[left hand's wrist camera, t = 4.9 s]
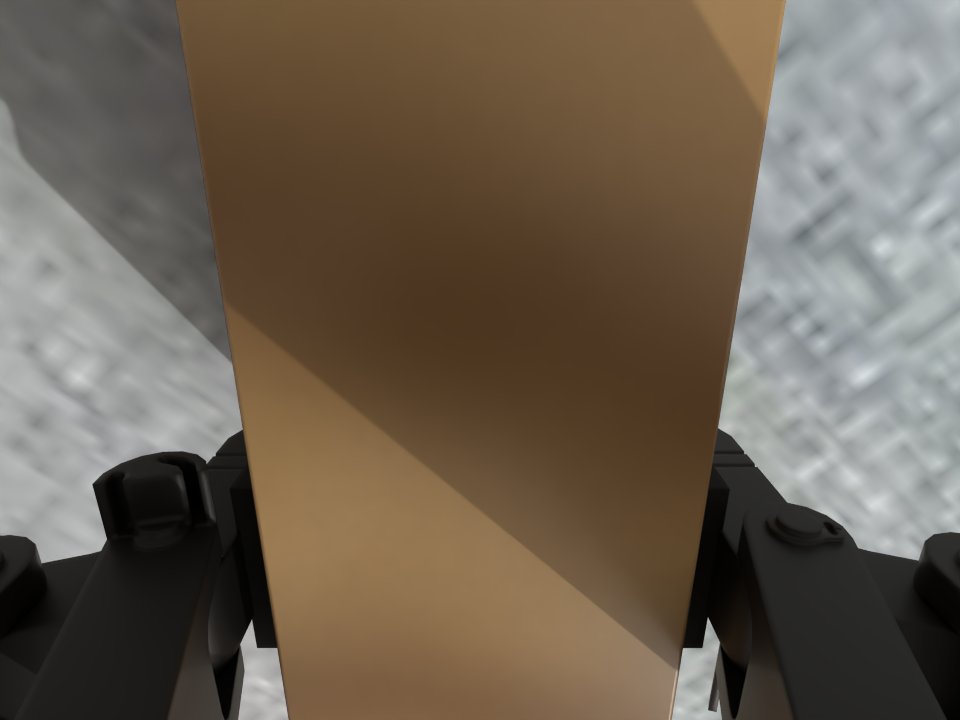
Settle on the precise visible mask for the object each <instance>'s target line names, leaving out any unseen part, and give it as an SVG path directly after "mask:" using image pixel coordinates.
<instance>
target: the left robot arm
mask: <svg viewBox="0 0 960 720" xmlns="http://www.w3.org/2000/svg"><path fill="white" fill-rule="evenodd" d="M92 485H93V488H94V492H95V496H96V499H97V503H98V507H99V511H100V514H101V518H102V522H103V525H104V529H105V533H106V537H107V541H106V543H105V545H104V546H103V548H102V550H101V551H100V552H96V553H92V554H87V555H82V556H77V557H72V558H67V559H62V560H57V561H52V562H47V563H41V560H40V557H39V554H38V551H37V548H36V544H35V543H33V542H32V541H31V540H29V539H28V538H27V537H20V536H13V535H6V536H0V720H238V716H239V708H240V701H241V693H242V686H243V678H244V664H243V657H242V651H241V646H240V643H241V641H242V639H243V637H244V635H245V633H246V631H247V628H248V626H249V624H250V622H251V620H252V621H253V627H254V632H255V638H256V644H257V648H277V642H276V636H275V629H274V623H273V617H272V610H271V604H270V598H269V591H268V585H267V579H266V572H265V566H264V560H263V553H262V547H261V541H260V534H259V528H258V522H257V515H256V509H255V503H254V496H253V490H252V484H251V477H250V471H249V465H248V458H247V452H246V446H245V439H244V433H243V430H241V431H240V432H238V433H236V434H235V435H233V436H231V437H230V438H228V439H227V441H226V442H225V443H224V444H223V445H222V447H221V448H220V449H219V450H218V451H217V453H216V456H213V457H212V459H211V460H210V461H209V462H208V463H207V464H206V461H205V460H204V459H203V458H201V457H200V456H199V455H197V454H192V453H187V452H183V451H180V452H160V453H155V454H150V455H145V456H141V457H138V458H135V459H132V460H129V461H126V462H124V463H121V464H119V465H117V466H116V467H114V468H112V469H110V470H108V471H107V472H105V473H103V474H102V475H101V476H100V477H99V478H98V479H97V480H96V481H95V482H94V483H93V484H92ZM707 618H709V620H710V622H711V624H712V626H713V628H714V631H715V633H716V635H717V637H718V639H719V641H720V646H719V651H718V657H717V662H716V667H715V673H714V678H713V683H712V689H711V694H710V700H709V708H708V710H710V711H714V712H717V706H718V701H719V699H720V707H721V714H722V720H960V533H953V532H948V533H941V534H934V535H933V536H931V537H930V538H929V539H927V540H926V541H925V543H924V546H923V549H922V552H921V555H920V558H919V561H917V560H912V559H907V558H902V557H897V556H891V555H886V554H881V553H876V552H871V551H867V550H863V549H859V548H858V547H857V545H856V543H855V542H854V540H853V538H852V537H851V536H850V534H849V533H848V532H847V531H846V530H845V528H844V527H843V526H841V525H840V524H838V523H837V522H835V521H834V520H833V519H831V518H830V517H828V516H827V515H824V514H822V513H819V512H817V511H815V510H812V509H810V508H807V507H804V506H799V505H795V504H791V503H787V502H786V501H785V499H784V498H783V497H782V496H781V495H780V493H779V492H778V491H777V490H776V489H775V488H774V486H773V485H772V484H771V483H770V482H769V480H768V479H767V478H766V477H765V476H764V474H763V473H762V472H761V471H760V470H759V469H758V467H755V464H754V463H753V461H752V460H751V459H750V458H749V457H748V455H747V454H744V451H743V450H742V448H741V447H740V446H739V445H738V444H737V442H736V441H735V440H734V439H733V438H732V436H730V435H728V434H727V433H725V432H723V431H722V430H720V429H718V430H717V437H716V443H715V449H714V456H713V462H712V468H711V474H710V481H709V487H708V493H707V500H706V506H705V512H704V518H703V525H702V531H701V537H700V544H699V550H698V556H697V562H696V569H695V575H694V581H693V588H692V594H691V600H690V606H689V613H688V619H687V625H686V632H685V638H684V644H683V648H702V647H703V641H704V636H705V630H706V624H707Z"/></svg>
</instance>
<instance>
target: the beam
mask: <svg viewBox="0 0 960 720" xmlns="http://www.w3.org/2000/svg"><path fill="white" fill-rule="evenodd" d="M175 2H176V8H177V15H178V21H179V27H180V34H181V40H182V46H183V53H184V59H185V65H186V72H187V78H188V85H189V91H190V97H191V104H192V110H193V116H194V123H195V129H196V135H197V142H198V148H199V154H200V161H201V167H202V173H203V180H204V186H205V192H206V199H207V205H208V211H209V218H210V224H211V230H212V237H213V243H214V249H215V256H216V262H217V268H218V275H219V281H220V287H221V294H222V300H223V306H224V313H225V319H226V325H227V332H228V338H229V344H230V351H231V357H232V363H233V370H234V376H235V382H236V389H237V395H238V401H239V408H240V414H241V420H242V427H243V433H244V439H245V446H246V452H247V458H248V465H249V471H250V477H251V484H252V490H253V496H254V503H255V509H256V515H257V522H258V528H259V534H260V541H261V547H262V553H263V560H264V566H265V572H266V579H267V585H268V591H269V598H270V604H271V610H272V617H273V623H274V629H275V636H276V642H277V648H278V655H279V661H280V667H281V674H282V680H283V686H284V693H285V699H286V705H287V712H288V718H289V720H672V713H673V707H674V701H675V694H676V688H677V682H678V676H679V669H680V663H681V657H682V650H683V644H684V638H685V632H686V625H687V619H688V613H689V606H690V600H691V594H692V588H693V581H694V575H695V569H696V562H697V556H698V550H699V544H700V537H701V531H702V525H703V518H704V512H705V506H706V500H707V493H708V487H709V481H710V474H711V468H712V462H713V456H714V449H715V443H716V437H717V430H718V424H719V418H720V412H721V405H722V399H723V393H724V386H725V380H726V374H727V368H728V361H729V355H730V349H731V342H732V336H733V330H734V324H735V317H736V311H737V305H738V298H739V292H740V286H741V280H742V273H743V267H744V261H745V254H746V248H747V242H748V236H749V229H750V223H751V217H752V210H753V204H754V198H755V192H756V185H757V179H758V173H759V166H760V160H761V154H762V148H763V141H764V135H765V129H766V122H767V116H768V110H769V104H770V97H771V91H772V85H773V78H774V72H775V66H776V60H777V53H778V47H779V41H780V34H781V28H782V22H783V16H784V9H785V3H786V0H175Z"/></svg>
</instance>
